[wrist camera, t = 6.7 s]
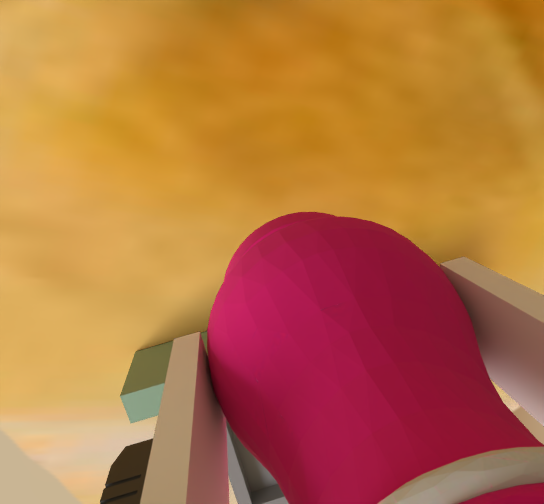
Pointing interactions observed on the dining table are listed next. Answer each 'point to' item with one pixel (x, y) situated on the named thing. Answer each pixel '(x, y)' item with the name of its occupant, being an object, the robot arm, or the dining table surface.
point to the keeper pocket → (250, 475)
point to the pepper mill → (361, 372)
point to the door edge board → (147, 381)
